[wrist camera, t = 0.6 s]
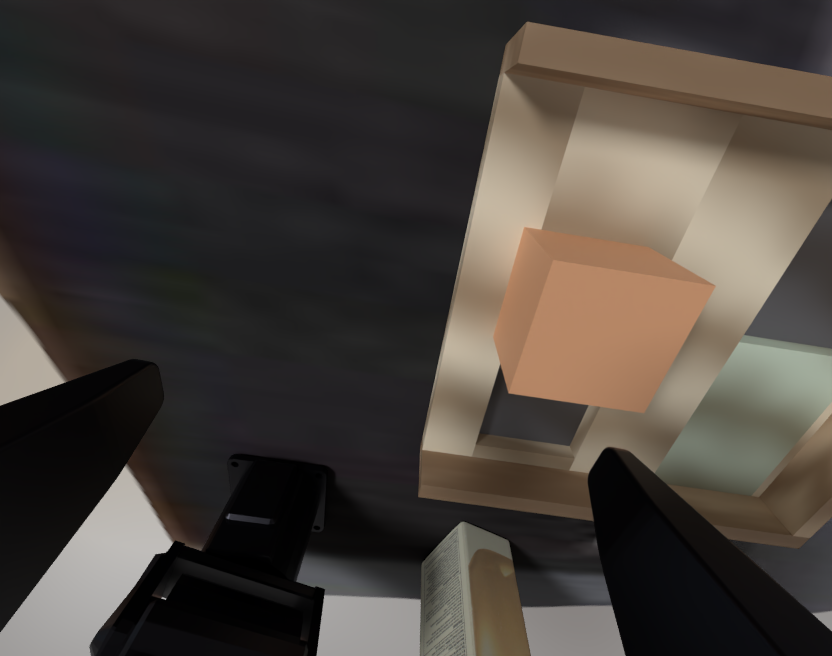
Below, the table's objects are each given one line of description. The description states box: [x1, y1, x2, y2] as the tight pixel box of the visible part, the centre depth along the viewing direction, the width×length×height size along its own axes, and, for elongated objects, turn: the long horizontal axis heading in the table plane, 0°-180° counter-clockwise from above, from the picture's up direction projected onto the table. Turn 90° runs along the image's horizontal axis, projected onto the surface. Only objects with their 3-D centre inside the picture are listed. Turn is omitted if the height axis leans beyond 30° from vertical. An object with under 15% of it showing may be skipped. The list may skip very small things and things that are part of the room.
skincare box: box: [420, 522, 531, 656], centre depth 24 cm, size 6×4×12 cm
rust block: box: [493, 227, 716, 413], centre depth 16 cm, size 6×6×4 cm
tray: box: [418, 22, 832, 549], centre depth 18 cm, size 21×22×4 cm
